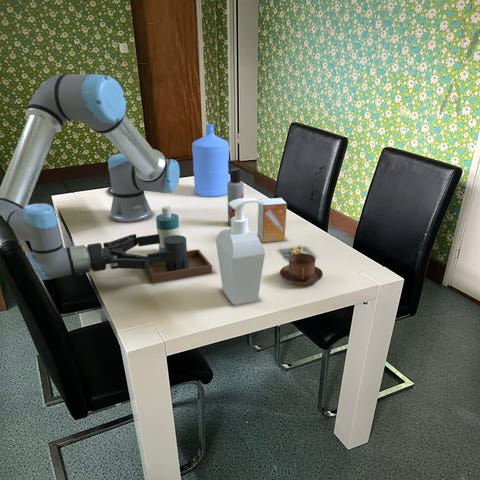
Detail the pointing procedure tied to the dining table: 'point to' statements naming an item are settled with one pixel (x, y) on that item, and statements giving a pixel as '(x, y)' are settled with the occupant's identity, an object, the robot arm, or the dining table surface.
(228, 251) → the soap bottle
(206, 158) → the water jug
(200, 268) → the tray
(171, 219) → the capped bottle
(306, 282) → the cup and saucer
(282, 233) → the small box
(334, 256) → the dining table surface
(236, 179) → the lotion bottle
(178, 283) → the dining table surface
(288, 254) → the dice set
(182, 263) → the cap
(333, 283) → the dining table surface
